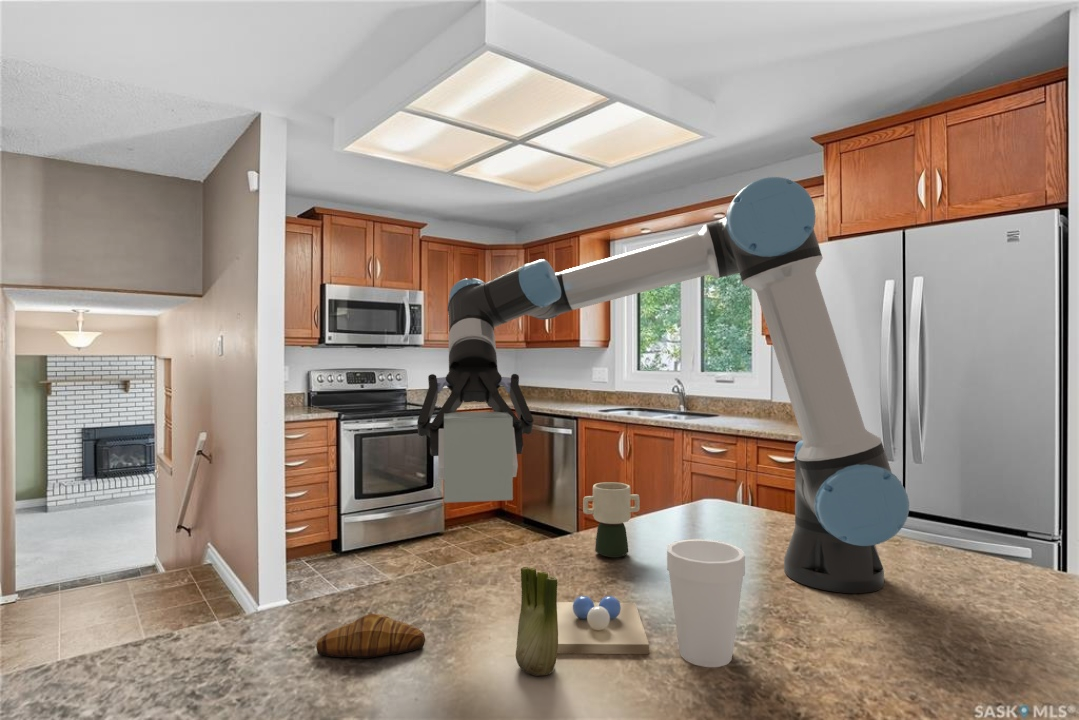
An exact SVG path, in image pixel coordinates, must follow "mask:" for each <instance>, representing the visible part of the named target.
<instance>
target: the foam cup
mask: <svg viewBox="0 0 1079 720" xmlns="http://www.w3.org/2000/svg"><path fill="white" fill-rule="evenodd" d="M666 570H667V572H668V573H669V581H670V582H669V583H670V590H671V597H672V605H673V612H674V619H675V627H676V634H677V642H678V650H679V656H680V657H682V658H683V660H685V661H686V662H688V663H690V664H692V665H695V666H699V667H704V668H721V667H724V666H726V665H729V663H730V662H731V661H732V660H733V657H732V656H733V654H734V647H735V646H734V645H735V639H736V632H737V631H736V630H737V624H738V618H739V617H738V616H739V608H740V602H741V593H742V588H743V581H744V580H743V579H744V577H745V575H746V555H745V552H744V550H743V549H741V548H739V547H738V546H736V545H734V544H731V543H727V542H723V541H720V540H718V541H717V540H710V539H703V538H702V539H683V540H678V541H673V542H670V543H669V544H668V545H666Z"/></svg>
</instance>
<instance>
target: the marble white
mask: <svg viewBox="0 0 1079 720" xmlns="http://www.w3.org/2000/svg"><path fill="white" fill-rule="evenodd" d="M587 621H588V624H589V625H590V627H591V628H593V629H594V630H598V631H600V630H604V629H605V628H606V627H607V626H608V625H609V622H610V615H609V613H608V611H607V610H606V609H605V608H604V607H601V606H595V607H593V608H591V609H590V610H589V612H588V615H587Z"/></svg>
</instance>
